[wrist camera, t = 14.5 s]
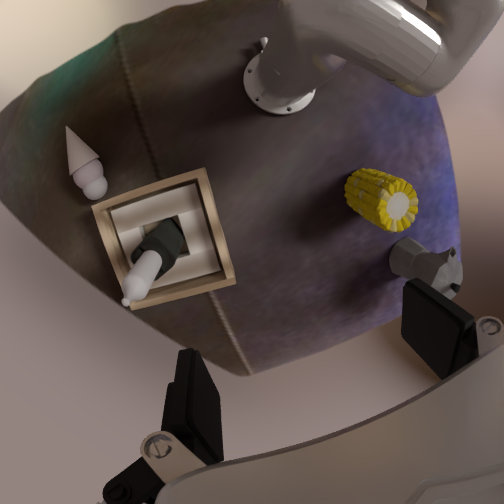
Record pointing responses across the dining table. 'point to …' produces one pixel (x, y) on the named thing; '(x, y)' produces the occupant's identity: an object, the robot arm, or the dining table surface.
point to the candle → (152, 259)
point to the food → (382, 199)
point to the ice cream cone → (85, 167)
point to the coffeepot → (427, 266)
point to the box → (189, 220)
